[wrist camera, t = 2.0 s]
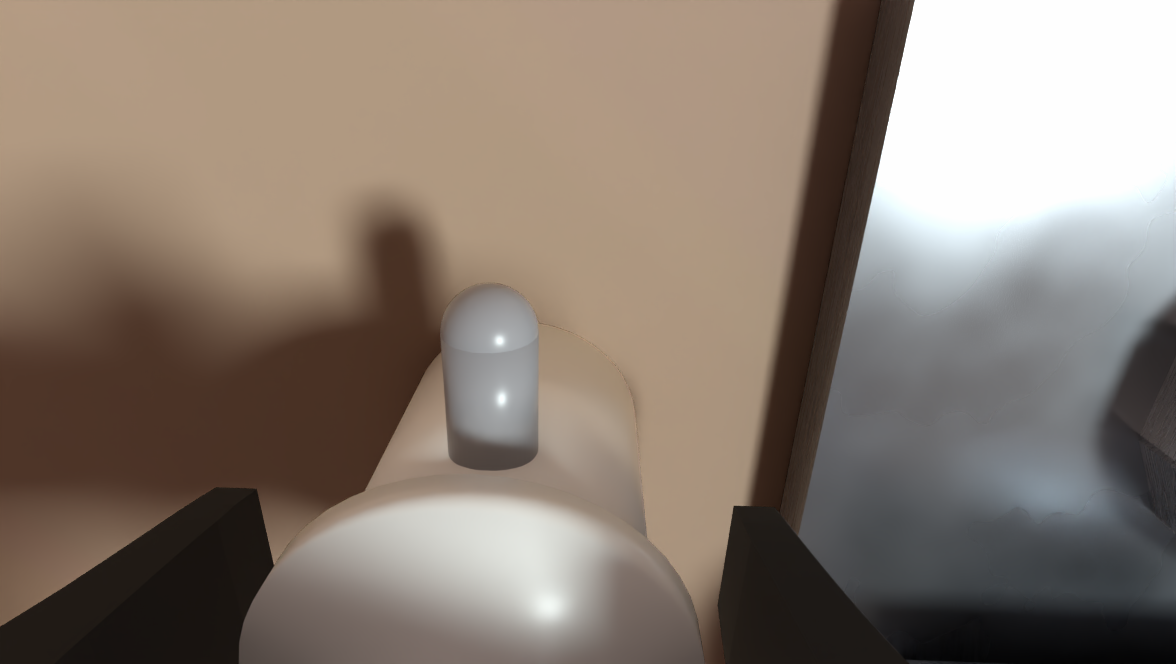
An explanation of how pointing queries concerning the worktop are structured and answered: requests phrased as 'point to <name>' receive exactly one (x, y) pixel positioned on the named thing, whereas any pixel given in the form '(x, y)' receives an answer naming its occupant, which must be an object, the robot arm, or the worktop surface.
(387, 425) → the worktop surface
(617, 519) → the white mushroom knob
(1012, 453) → the motor mount
